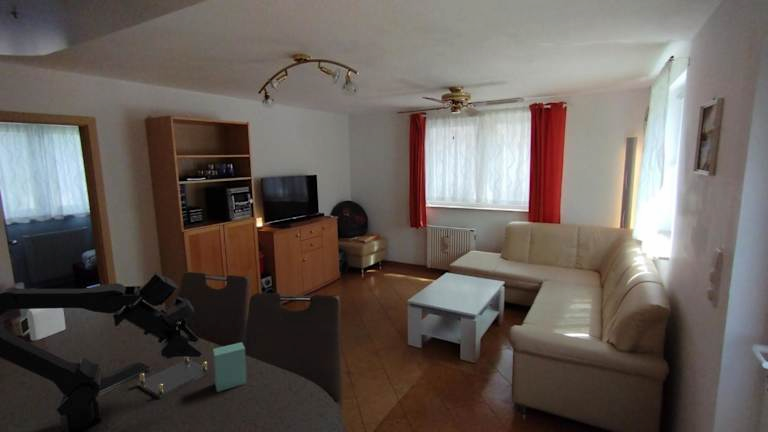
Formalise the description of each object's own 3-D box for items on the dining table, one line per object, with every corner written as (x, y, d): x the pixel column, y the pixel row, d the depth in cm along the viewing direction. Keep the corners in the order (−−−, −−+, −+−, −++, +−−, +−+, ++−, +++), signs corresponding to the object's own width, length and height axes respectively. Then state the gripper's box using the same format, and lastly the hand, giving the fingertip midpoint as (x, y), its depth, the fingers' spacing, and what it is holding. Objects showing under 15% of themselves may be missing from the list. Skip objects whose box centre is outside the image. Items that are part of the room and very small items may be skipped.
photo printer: (34, 342, 129) (30, 309, 128) (27, 339, 131) (23, 307, 129) (68, 329, 139) (64, 299, 137) (61, 328, 140) (57, 297, 139)
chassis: (160, 398, 99) (159, 387, 99) (137, 385, 105) (136, 374, 104) (210, 372, 112) (209, 361, 112) (187, 361, 118) (187, 351, 117)
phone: (152, 368, 112) (95, 394, 99) (152, 371, 113) (95, 398, 100) (138, 361, 116) (81, 386, 103) (138, 364, 116) (82, 389, 103)
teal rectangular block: (217, 392, 103) (214, 355, 101) (214, 384, 106) (212, 348, 105) (246, 383, 107) (245, 348, 105) (243, 375, 110) (242, 342, 109)
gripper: (173, 305, 88) (225, 337, 95) (171, 283, 103) (215, 312, 111) (137, 343, 85) (193, 373, 92) (140, 315, 100) (188, 342, 108)
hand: (198, 347), depth 101 cm, fingers open, 9 cm apart
